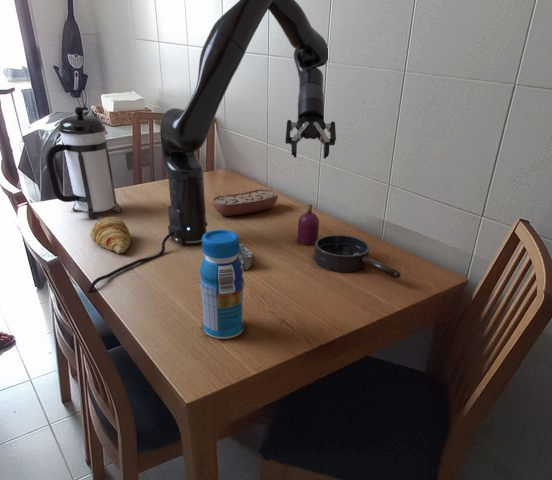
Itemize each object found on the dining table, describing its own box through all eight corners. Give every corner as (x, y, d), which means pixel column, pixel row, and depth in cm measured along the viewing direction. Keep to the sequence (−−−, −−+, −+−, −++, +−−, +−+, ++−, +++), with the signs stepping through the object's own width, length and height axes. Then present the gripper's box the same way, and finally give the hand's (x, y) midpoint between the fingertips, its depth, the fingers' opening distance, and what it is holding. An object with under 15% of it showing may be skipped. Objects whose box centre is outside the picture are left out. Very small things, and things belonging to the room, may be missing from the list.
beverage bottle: (195, 335, 96) (188, 240, 84) (214, 315, 102) (210, 224, 91) (233, 344, 93) (231, 248, 82) (251, 323, 100) (251, 231, 88)
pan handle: (401, 278, 115) (402, 271, 114) (396, 280, 114) (397, 273, 113) (364, 261, 122) (365, 254, 121) (359, 263, 121) (360, 256, 120)
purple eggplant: (306, 247, 134) (309, 208, 128) (293, 240, 138) (295, 203, 131) (321, 242, 137) (325, 204, 131) (307, 236, 141) (310, 199, 134)
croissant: (135, 266, 128) (146, 238, 126) (99, 256, 121) (109, 227, 119) (112, 237, 142) (121, 212, 140) (78, 227, 136) (87, 201, 133)
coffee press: (79, 202, 158) (58, 101, 141) (127, 204, 158) (112, 104, 141) (58, 221, 144) (32, 111, 127) (110, 223, 144) (92, 113, 127)
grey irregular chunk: (253, 269, 121) (253, 254, 119) (223, 272, 119) (223, 256, 117) (245, 252, 129) (245, 238, 127) (217, 254, 128) (217, 240, 125)
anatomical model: (267, 202, 165) (267, 187, 162) (284, 210, 159) (284, 195, 156) (208, 213, 154) (207, 197, 151) (223, 222, 148) (223, 206, 145)
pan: (341, 277, 119) (343, 261, 116) (302, 258, 128) (303, 242, 125) (378, 263, 127) (381, 247, 124) (339, 246, 135) (341, 231, 133)
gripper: (286, 95, 134) (285, 147, 131) (337, 97, 134) (337, 149, 132) (285, 112, 141) (284, 163, 139) (333, 114, 142) (333, 164, 139)
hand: (310, 156), depth 135 cm, fingers open, 8 cm apart
